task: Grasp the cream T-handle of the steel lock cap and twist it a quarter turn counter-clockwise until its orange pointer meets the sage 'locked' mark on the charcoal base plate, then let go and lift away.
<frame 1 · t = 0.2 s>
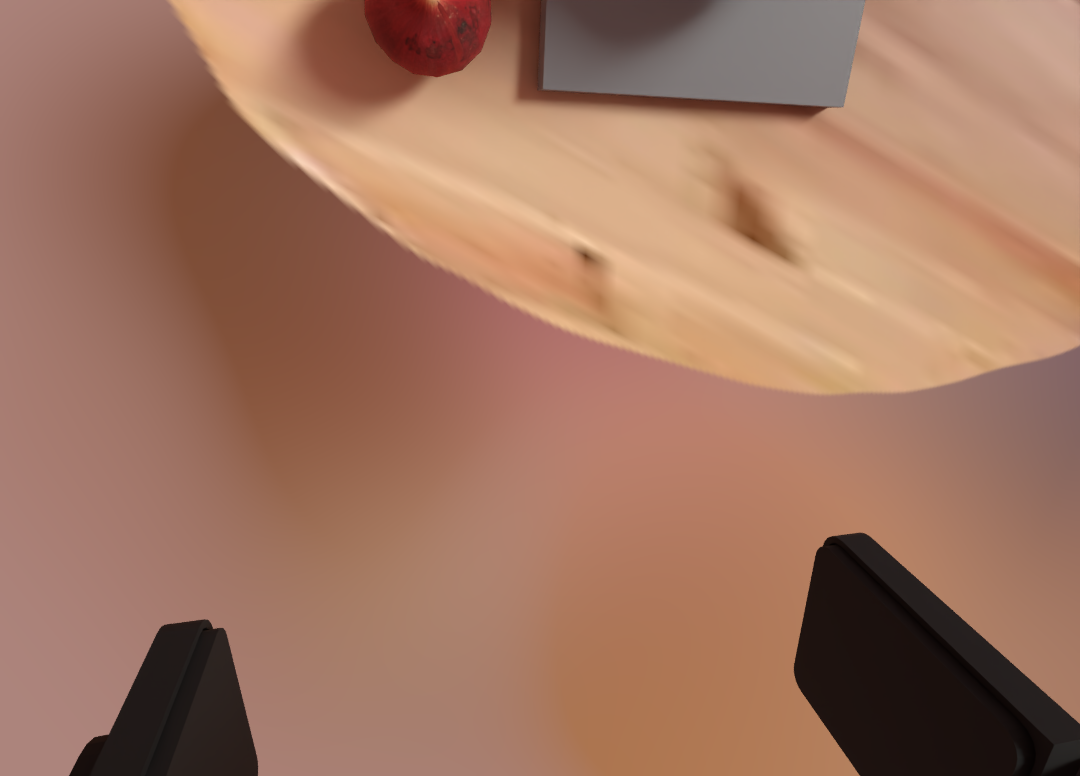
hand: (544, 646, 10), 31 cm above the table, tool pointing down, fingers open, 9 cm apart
onion: (426, 18, 34), on the table
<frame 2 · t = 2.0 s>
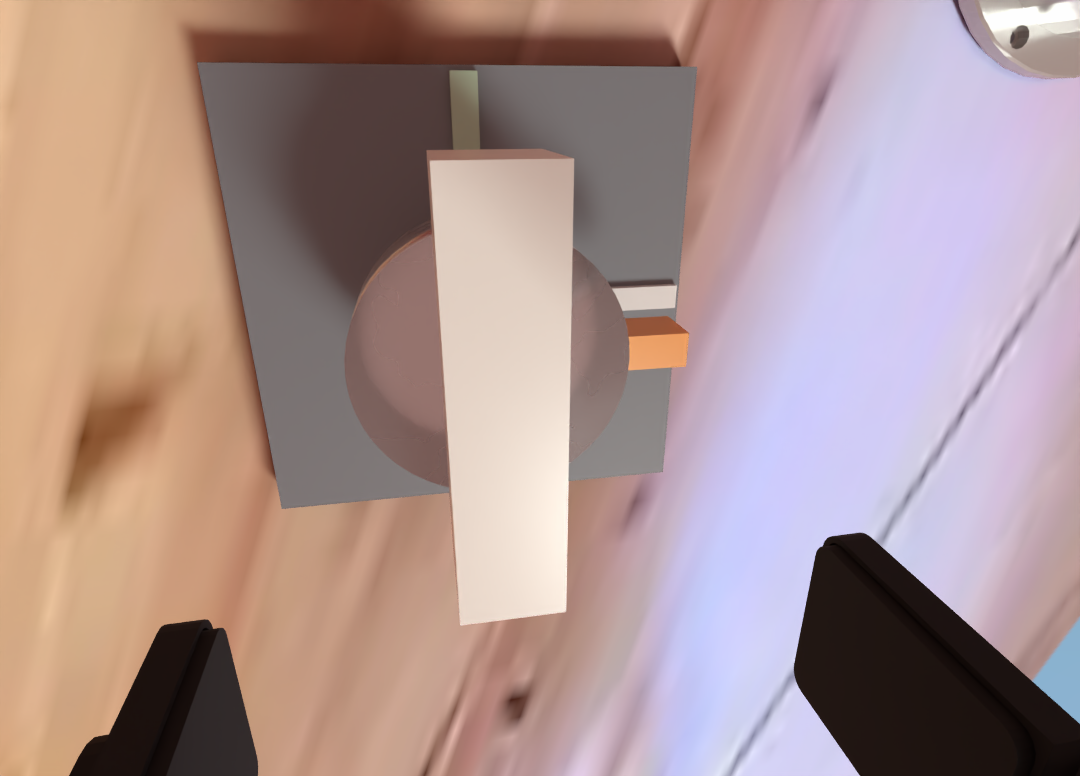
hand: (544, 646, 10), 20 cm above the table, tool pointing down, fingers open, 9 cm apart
lock cap: (529, 371, 20), point 9 cm above the table, hinge at 0.0°
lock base: (470, 295, 28), on the table
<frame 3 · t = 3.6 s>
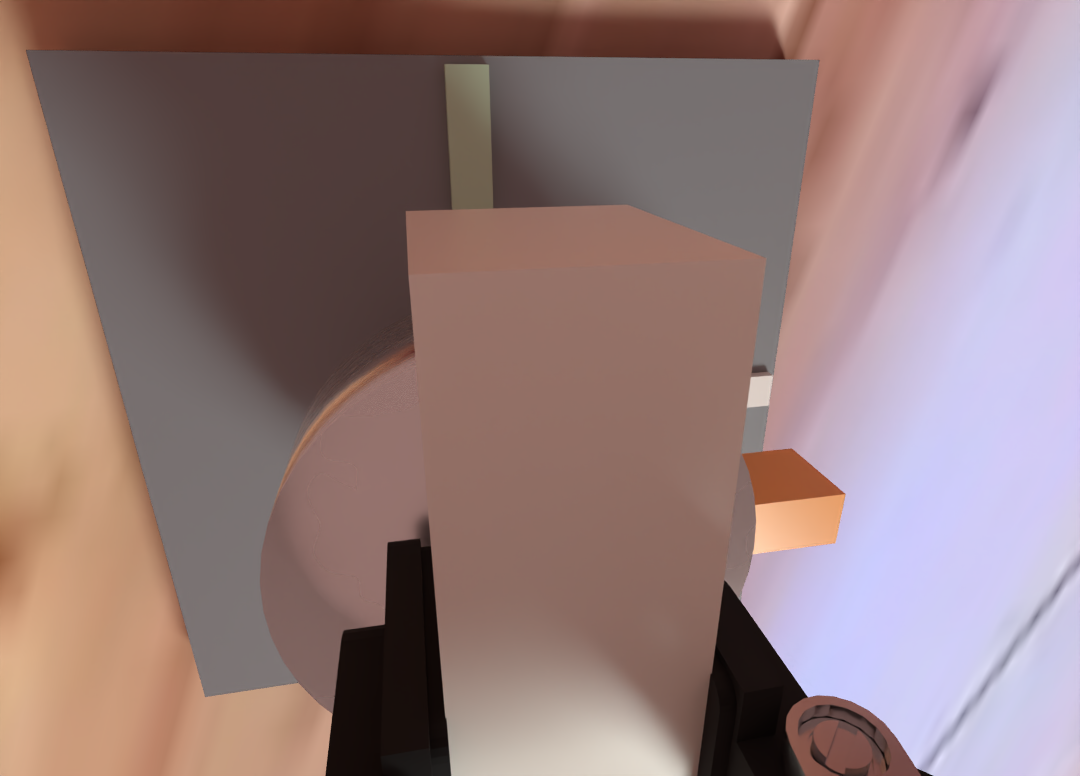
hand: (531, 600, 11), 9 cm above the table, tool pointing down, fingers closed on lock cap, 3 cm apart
lock cap: (591, 586, 11), point 9 cm above the table, hinge at 0.0°, touching gripper
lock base: (475, 391, 20), on the table
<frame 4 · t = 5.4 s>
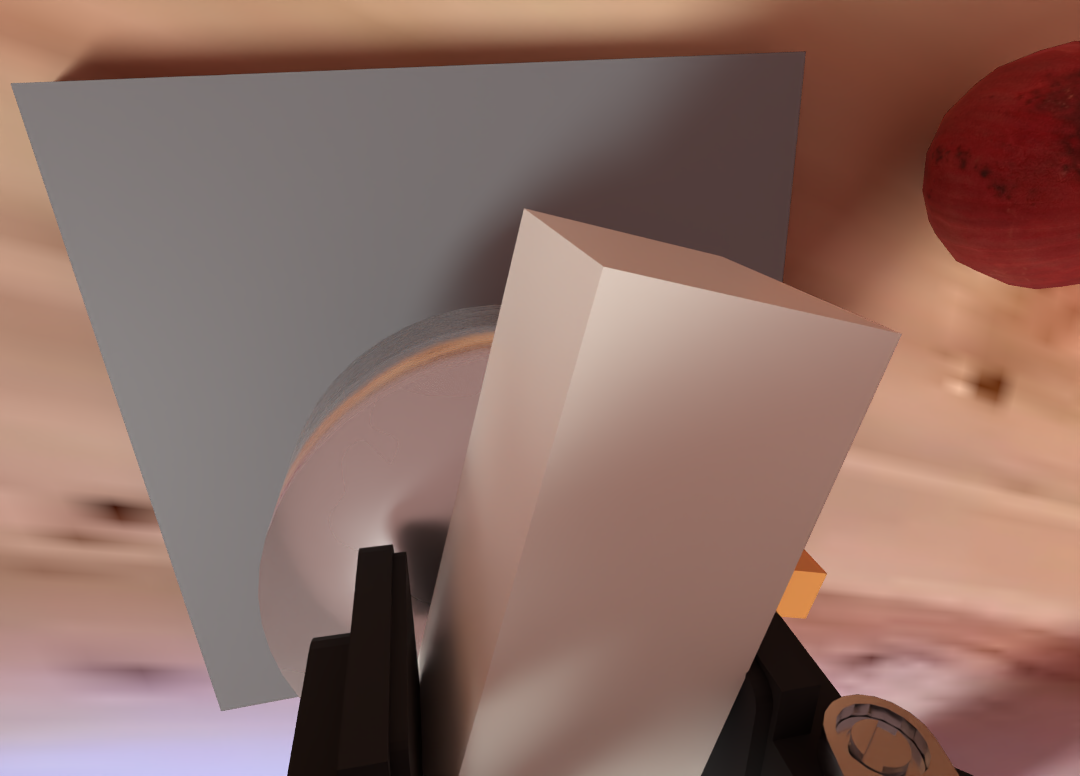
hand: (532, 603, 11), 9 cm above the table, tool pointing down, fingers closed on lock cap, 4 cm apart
onion: (940, 161, 20), on the table
lock cap: (587, 611, 12), point 9 cm above the table, hinge at 72.9°, touching gripper
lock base: (474, 398, 20), on the table
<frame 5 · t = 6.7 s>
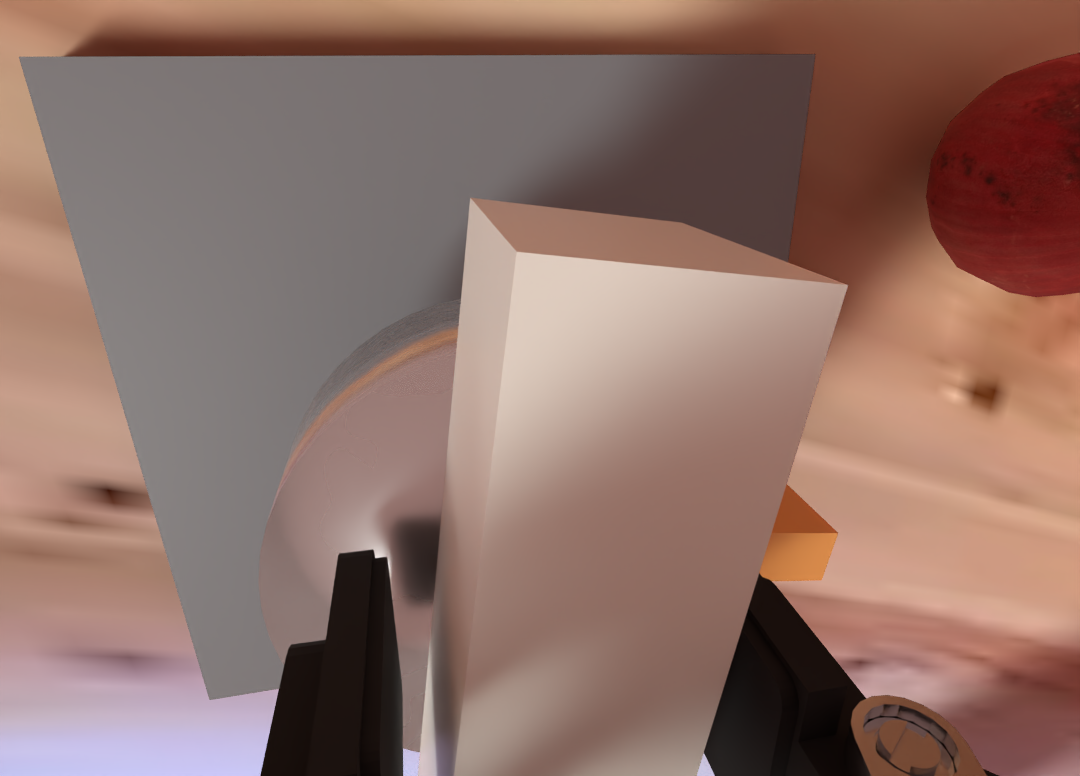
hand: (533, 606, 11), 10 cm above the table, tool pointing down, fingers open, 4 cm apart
onion: (943, 168, 20), on the table
lock cap: (590, 594, 11), point 9 cm above the table, hinge at 81.2°
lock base: (474, 391, 20), on the table
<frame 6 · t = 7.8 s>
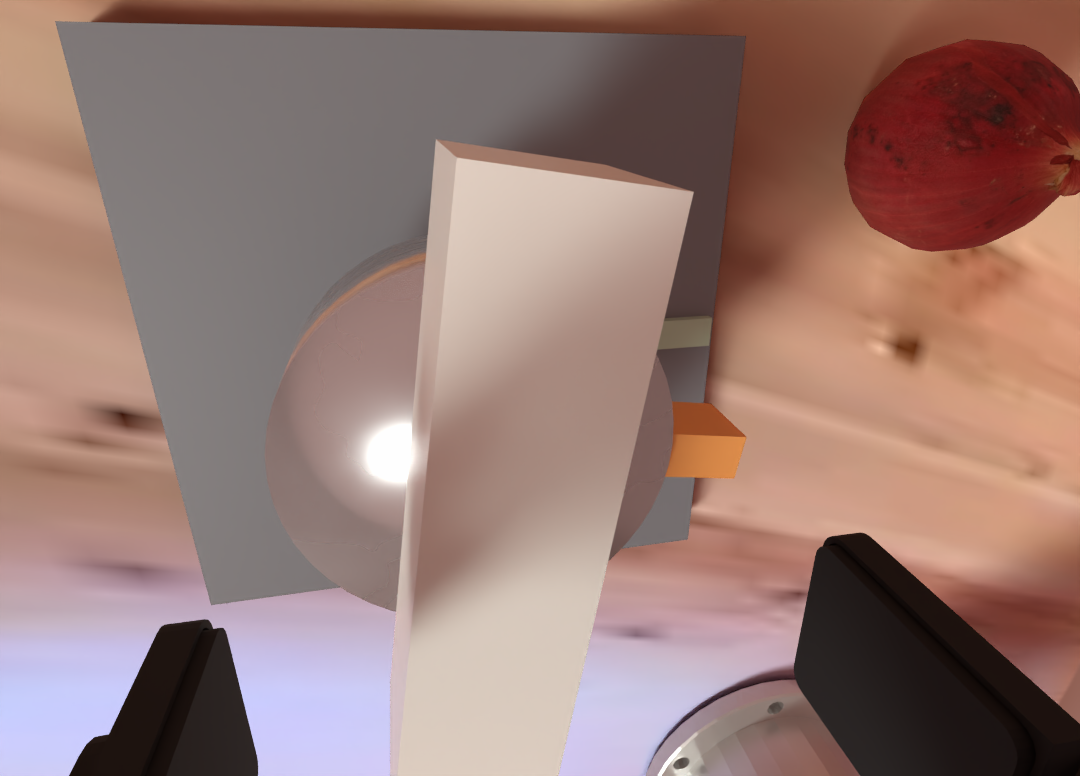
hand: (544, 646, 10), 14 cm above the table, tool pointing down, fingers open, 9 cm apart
onion: (866, 142, 23), on the table
lock cap: (535, 473, 14), point 9 cm above the table, hinge at 81.3°
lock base: (449, 332, 22), on the table
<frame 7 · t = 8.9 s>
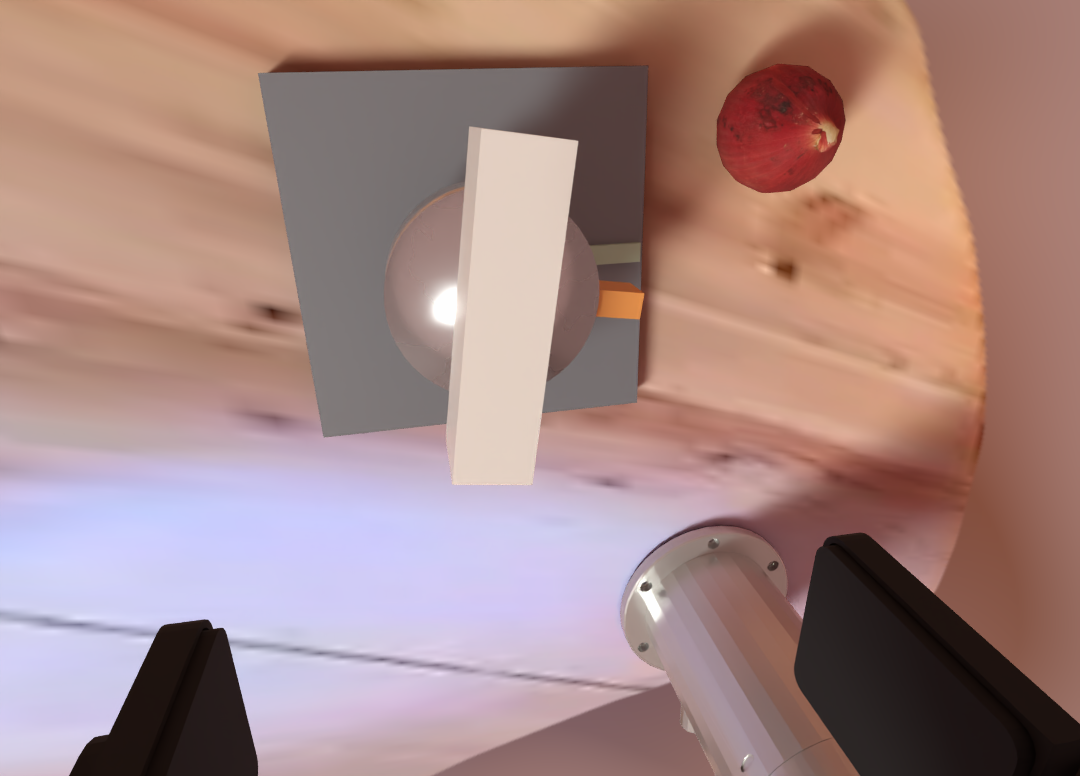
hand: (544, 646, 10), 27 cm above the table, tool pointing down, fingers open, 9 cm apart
onion: (740, 128, 35), on the table
lock cap: (523, 303, 27), point 9 cm above the table, hinge at 81.3°
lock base: (473, 257, 35), on the table
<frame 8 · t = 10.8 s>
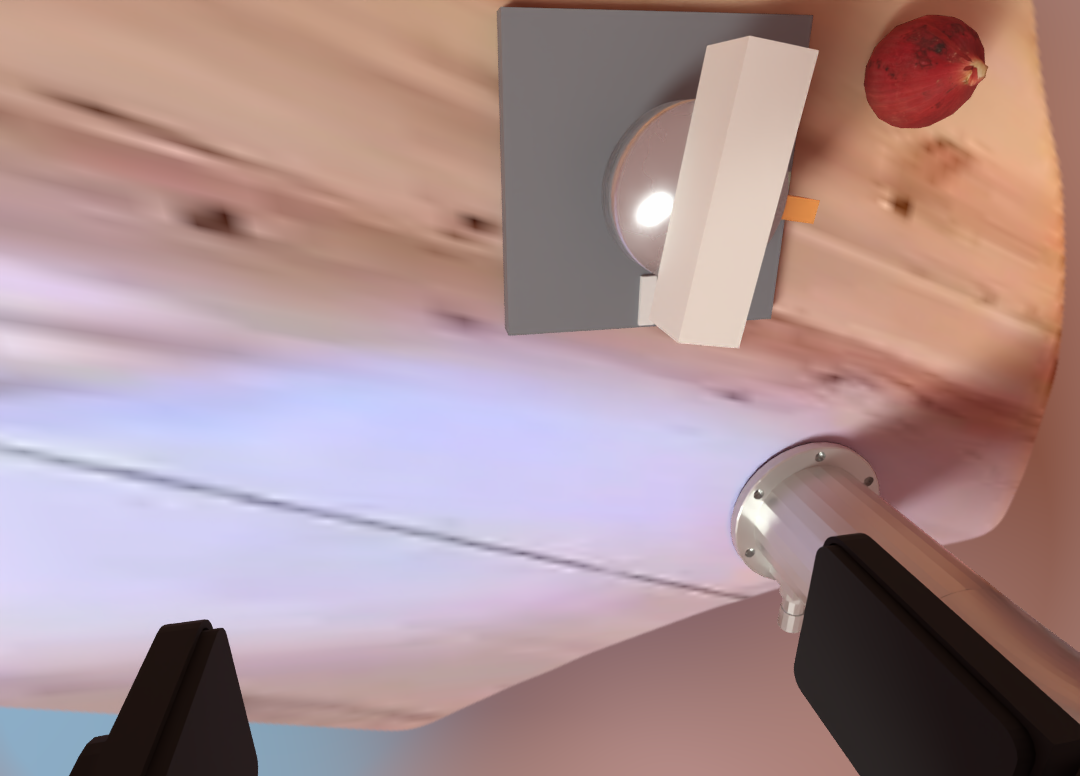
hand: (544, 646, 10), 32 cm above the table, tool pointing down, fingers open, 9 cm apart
onion: (875, 77, 41), on the table
lock cap: (729, 200, 32), point 9 cm above the table, hinge at 81.3°
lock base: (645, 180, 40), on the table
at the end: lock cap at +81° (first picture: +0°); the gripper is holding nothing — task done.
